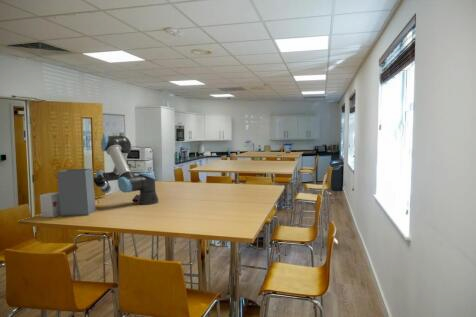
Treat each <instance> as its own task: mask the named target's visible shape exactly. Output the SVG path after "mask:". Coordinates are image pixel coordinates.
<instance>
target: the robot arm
mask: <svg viewBox="0 0 476 317" xmlns="http://www.w3.org/2000/svg"><path fill="white" fill-rule="evenodd" d="M100 140H101V141H100V149H101V151H102V152H106V154H107V155H108V156H110V158H111V160H112V163H113V164H114V166H113V169H112V171H109V172H105V171H104V170H102V169H100V170H98V171H96V172H95V177H94V176H93V182H94V185H96V186H97V188H98V189H99V190H100V191H101V192H102V193H104V194H108V193H110V192H111V190H112V187H111V185H110V184H109V182H110V181H117V184H118V185H117V186H118V188H119V190H120V191H121V192H122V193H132V192H138V191H139V197H138V199H137V204H138V205H145V206H146V205H154V204H158V203H159V197H158V194H157V192H156V178H155V177H156V176H155V174H154V173H152V172H139V173H138V174H135V172H134V171H132V170H131V169H130V167H129V165H128V163H127V161H126V160H127V157H128V155H129V153H131V149H132V142H131V141H130V139H129V138H128V137H127V136H125V135H105V136H102V138H101V139H100Z"/></svg>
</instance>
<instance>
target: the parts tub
mask: <svg viewBox="0 0 476 317" xmlns="http://www.w3.org/2000/svg"><path fill="white" fill-rule="evenodd" d="M56 175H57V176H56V177H57V188H58V193H59V203H60V215H59V216H60V217H63V218H64V217H79V216H80V217H81V216H82V217H83V216H90V215H91V214H93V213H94V212H96V205H95V200H96V199H95V196H96V195H95V186H94V185H95V182H93V177H94V172H93V168H75V169H73V168H71V169H64V170H58V171H56ZM89 214H90V215H89Z"/></svg>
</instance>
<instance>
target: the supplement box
mask: <svg viewBox="0 0 476 317" xmlns="http://www.w3.org/2000/svg"><path fill="white" fill-rule="evenodd" d="M39 201H40V216H41V218H54V217H57V216H61V215H60V203H59V192H48V193H44V194H40V195H39Z"/></svg>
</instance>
